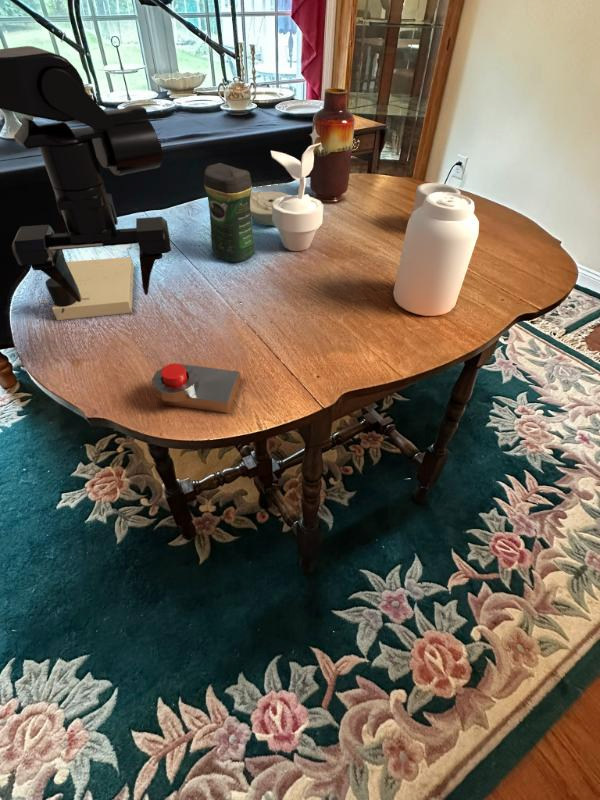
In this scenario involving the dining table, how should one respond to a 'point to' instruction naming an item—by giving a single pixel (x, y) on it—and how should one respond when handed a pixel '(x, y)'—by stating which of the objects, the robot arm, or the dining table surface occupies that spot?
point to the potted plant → (297, 203)
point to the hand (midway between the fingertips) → (113, 296)
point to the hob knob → (59, 294)
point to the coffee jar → (230, 212)
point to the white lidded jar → (436, 254)
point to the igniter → (201, 389)
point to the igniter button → (174, 375)
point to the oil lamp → (263, 206)
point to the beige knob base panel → (100, 288)
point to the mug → (431, 188)
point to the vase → (332, 147)
